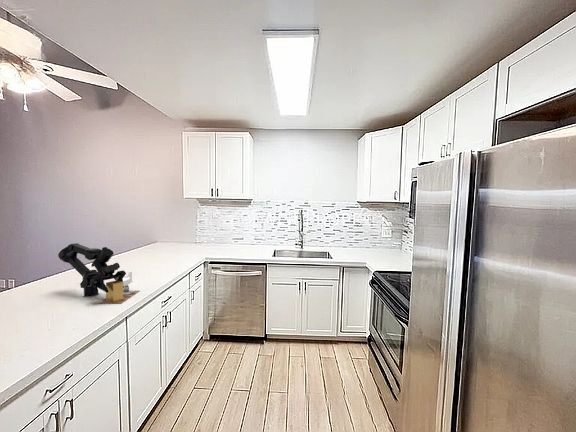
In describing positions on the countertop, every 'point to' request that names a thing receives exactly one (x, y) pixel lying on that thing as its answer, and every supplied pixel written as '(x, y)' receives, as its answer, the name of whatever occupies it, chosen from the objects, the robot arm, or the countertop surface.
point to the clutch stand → (126, 296)
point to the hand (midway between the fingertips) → (115, 290)
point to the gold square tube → (114, 291)
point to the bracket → (127, 279)
